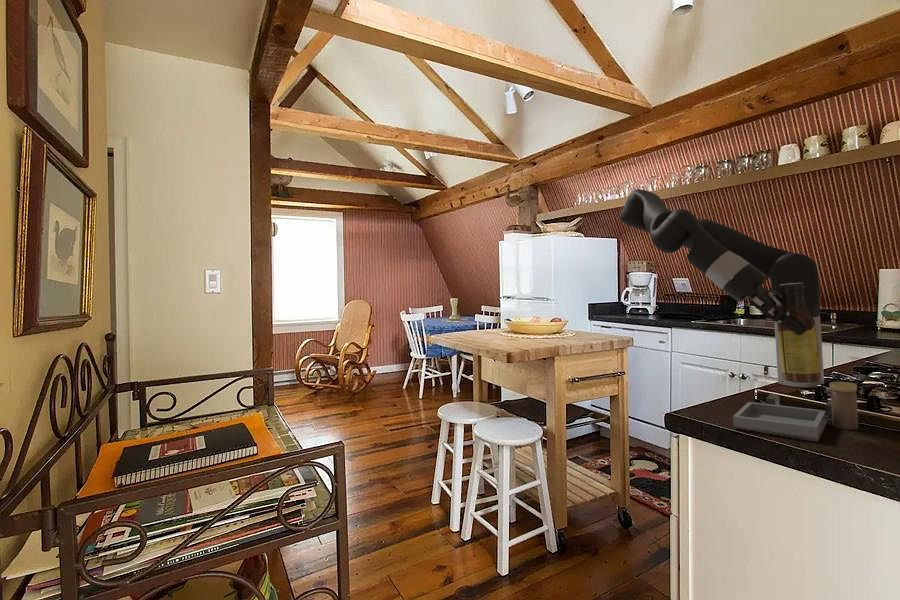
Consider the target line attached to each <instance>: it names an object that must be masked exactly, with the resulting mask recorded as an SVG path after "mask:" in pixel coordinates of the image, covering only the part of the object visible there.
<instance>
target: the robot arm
mask: <svg viewBox="0 0 900 600" xmlns="http://www.w3.org/2000/svg"><path fill="white" fill-rule="evenodd" d="M619 215H620V216H619V219H620V221H621V222H622V223H624V224H625V225H627V226H630V227H633V228H635V229H638V230H640V231H643V232H646V233H649V234H650V239H651V241H652V243H653V246H655V247H656V249H658V250H659V251H661V252H663V253H666V254H673V253H676V252H677V251H679V250H681V248H682V247H685V248H687V249H689V252H688V254H687V256H686V257H687V259H686V260H687V261H688V262H689V264H690V265H692V266H694V268H696V269H697V270H699V271H700V272H701V273H702V274H704V275H705V276H706V277H707V278H708V279H709V280H710V281H711V282H712V283H714V284H715V285H716V286H717V287H719V288H720V289H721V290H723V292H724V293H726V294H728V295H729V296H730V297H731V298H733V300H735V301H737V302H738V303H742V302H744V301H746V300H747V299H750V301H749V302H748V303H749V305H751V306H753V307H754V308H756V309H757V310H758V311H759V312H761V313H762V314H764V315H765V316H767V317H768V318H769V319H770V320H772V322H774V337H775V353H776V354H775V355H776V369H777V370H776V371H777V382H778V384H780V385H784V386H787V387H794V388H795V387H796V388H817V387H816V386H817V385H821V384H824V385H825V376H824V374H825V373H824V372H825V371H824V358H823V357H824V356H823V340H822V327H821V305H820V304H821V301H820V288H819V287H820V285H819V270H818V266H817V265H818V264H816V262H815V260H814V259H813V258H811V257H810V256H808V255H806V254H803V253H801V252H799V253H797V252H793V251H789V250H785V249H781V248H779V247H774V246H770V245H769V244H765V243H763V242H760V241H757V240H755V239H754V238H752V237H750V236H748V235H747V234H744V233H742V232H740V231H738V230H737V229H734V228H731V227H729V226H727V225H724V224H721V223H719V222H716V221H713V220H711V219H707V218H697V217H696V216H695V215H694V213H692V212H691V211H690V210H688V209H685V208H684V209H683V208H678V209H674V210H671V209H669V208H667V206H666V205H665V203H664V201H663V200H662V198H661V197H660V196H659V195H658V194H656V193H655V192H652V191H649V190H645V189H642V188H637V189H634V190H633V189H632V191H631V192H630V194H629V196H628V197H627V199H626V202H625V204H624V206H623V208H622V211H621V213H620V214H619ZM768 279H770V289H767V288H766V287H764V286H763V284H765V283H766V282H767V280H768ZM790 283H804V288H805V289H804V299H805V304H806V306H807V307H808V309H809V311H810V313H811V315H812V317H813V319H814V321H815V325H816V335H817V344H818V353H819V362H820V371H821V372H820V380H819V381H817V382H809V383H800V382H791V381H787V380H785V379H784V378H783V373H782V369H781V359H780V350H779V341H778V332H777V330H778V326H777V325H778V324H777V322H779V323H782V322H783V324H784V325H785V326H787V327H788V328H789V329H791V330H792V331H793V332H795V333H796V334H797V335H802V334H803V333H804V332H806V331H807V330H808V326H806V325H805V324H804V323H802V322H801V321H800V320H798V319H797V318H796V317H794V316H793V315H791V314H790V312H789V311H787V310H786V309H785V308H784V306H785V305H784V304H783V303H782V298H781V292H780V290H779V285H781V284H790ZM790 315H791V316H790ZM782 381H783V382H782Z"/></svg>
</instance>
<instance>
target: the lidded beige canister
mask: <svg viewBox="0 0 900 600" xmlns="http://www.w3.org/2000/svg"><path fill="white" fill-rule="evenodd" d="M828 385H829V390H830V391H829V392H830V400H831V407H832V421H831V422H832V426H833V428H836V429H842V430H847V431H849V430H850V431H852V430H853V431H854V430H858V429H859V417H858V416H859V415H858V399H857V398H858V397H857V391H858V384H857V383H854V382H847V381H831V382H829V384H828Z"/></svg>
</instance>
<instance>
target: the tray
mask: <svg viewBox="0 0 900 600" xmlns="http://www.w3.org/2000/svg"><path fill="white" fill-rule="evenodd" d="M732 423H733V424H732V425H733V428H734V427H736V428H742V429H748V430H752V431H758V432H763V433H769V434H774V435H773V436H775V435H780V436H779V437H782V436H785V437H784V438H789V437H791V439H795V438H796V440H803V441H809V442H817V443H818V442H819V439H820V438H821V436H822V434H823V433H824V429H825V427H826V425H827V423H828V422H827V410H824V409H823V410H822V409H817V408H816V409H814V408H805V407H798V406H797V407H796V406H787V405H781V404H780V405H771V404H767V403H761V402H752V401H748V402H747V403H746V404H745V405H743V406H742V407H741V408H740V409H739V410H738V411H737V412H736V413H735V414H733V416H732ZM769 434H768V435H769Z"/></svg>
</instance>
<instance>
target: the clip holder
mask: <svg viewBox="0 0 900 600" xmlns="http://www.w3.org/2000/svg"><path fill="white" fill-rule="evenodd" d="M765 401H766V404H771V405H780V406H781V404H780V403H781V402H780V394H776V393H775V394H774V393H770V394H769V395H768V396H767V397H766V400H765ZM825 409H826V410H825V411H826V421H829V422H832V407H831V399H828V400H827V403H826V404H825Z"/></svg>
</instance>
